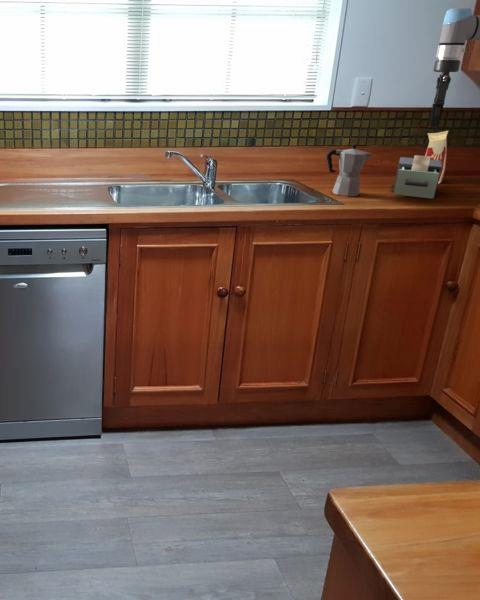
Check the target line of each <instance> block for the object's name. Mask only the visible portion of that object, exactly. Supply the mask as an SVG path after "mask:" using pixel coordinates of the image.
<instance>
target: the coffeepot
mask: <svg viewBox="0 0 480 600" xmlns="http://www.w3.org/2000/svg"><path fill="white" fill-rule="evenodd" d="M357 146H358V144H357V143H352V144H351V148H349V149H335V148H334V149H331V150H329V151H328V152H327V153H326V156H325V158H326V161H327V166H328V167H327V168H328V171H329V173H331V174H332V173H333V174H335V173H336V171H337V170H336V169H333V166H334V165H333V157H332V156H338V157H339V158H338V170H339V173H338V175H337V178H336V180H335V183H334V187H333V189H332V193H333V194H334V195H336V196H341V197H357V196H359V195H360V173H361V172H362V170H363V167H364V165H365V163H366V162H367V161H369V159H370V158H371V157H373V156H374V154H373V153H371V152H368V151H364V150H360V149H357Z"/></svg>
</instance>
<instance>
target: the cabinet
mask: <svg viewBox="0 0 480 600" xmlns="http://www.w3.org/2000/svg"><path fill="white" fill-rule="evenodd" d="M413 160H414V157H403V156H400V158H399V162H398V164H397V170H396V173H395V174H396V175H395V180H394V184H393V189H392V193H393V194H394V191H395V186H396V182H397V177H398V172H399V169H402V167H403V166H407V167H412V165H413ZM428 168H429V169H436V170H437V173H439V177H440V172H441V168H442V164H441V160H430V162H429V167H428ZM439 177H438V181H439ZM438 181H437V186H436V190H435V194H434V198H435V197H436V192H437V188H438V184H439V183H438Z"/></svg>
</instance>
